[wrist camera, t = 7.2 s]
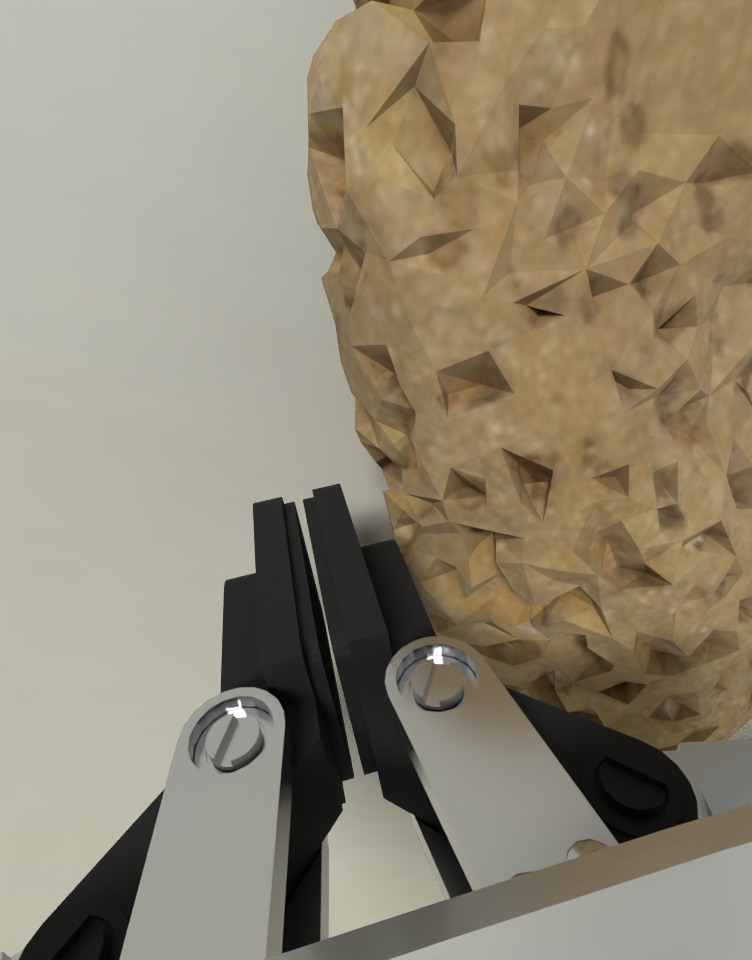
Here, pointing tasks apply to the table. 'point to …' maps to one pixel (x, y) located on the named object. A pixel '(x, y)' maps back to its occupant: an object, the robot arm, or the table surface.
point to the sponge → (555, 334)
